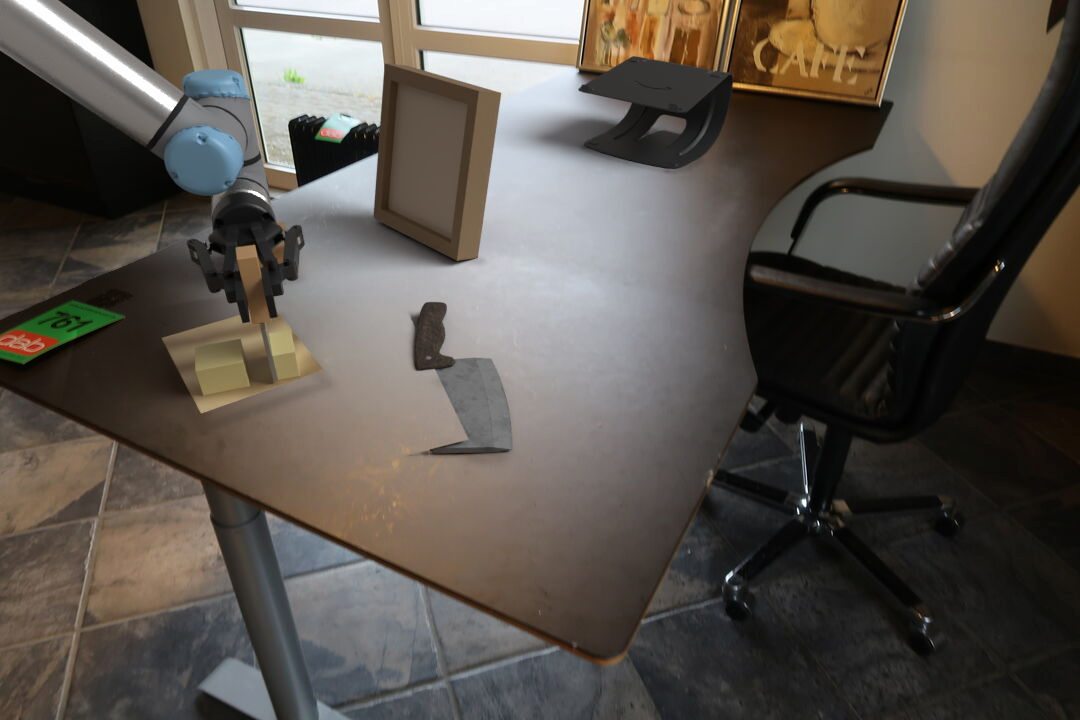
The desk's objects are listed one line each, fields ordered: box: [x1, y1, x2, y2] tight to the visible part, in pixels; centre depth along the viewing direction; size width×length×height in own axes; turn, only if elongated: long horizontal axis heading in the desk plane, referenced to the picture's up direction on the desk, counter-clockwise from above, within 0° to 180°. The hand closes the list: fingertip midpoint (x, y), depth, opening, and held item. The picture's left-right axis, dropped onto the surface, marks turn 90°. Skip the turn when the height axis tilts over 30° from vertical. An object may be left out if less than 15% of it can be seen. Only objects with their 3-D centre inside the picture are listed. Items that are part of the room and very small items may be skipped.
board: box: [161, 311, 324, 414], centre depth 86 cm, size 18×14×2 cm
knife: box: [235, 245, 278, 382], centre depth 78 cm, size 6×2×15 cm, turn 22°
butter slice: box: [269, 330, 300, 380], centre depth 82 cm, size 5×2×4 cm, turn 22°
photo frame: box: [372, 62, 502, 262], centre depth 111 cm, size 15×22×25 cm
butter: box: [195, 339, 250, 396], centre depth 80 cm, size 5×5×4 cm
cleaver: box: [414, 301, 513, 454], centre depth 84 cm, size 29×10×2 cm, turn 13°
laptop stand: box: [578, 55, 734, 169], centre depth 151 cm, size 26×24×16 cm
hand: (257, 308), depth 72 cm, fingers closed on knife, 2 cm apart
